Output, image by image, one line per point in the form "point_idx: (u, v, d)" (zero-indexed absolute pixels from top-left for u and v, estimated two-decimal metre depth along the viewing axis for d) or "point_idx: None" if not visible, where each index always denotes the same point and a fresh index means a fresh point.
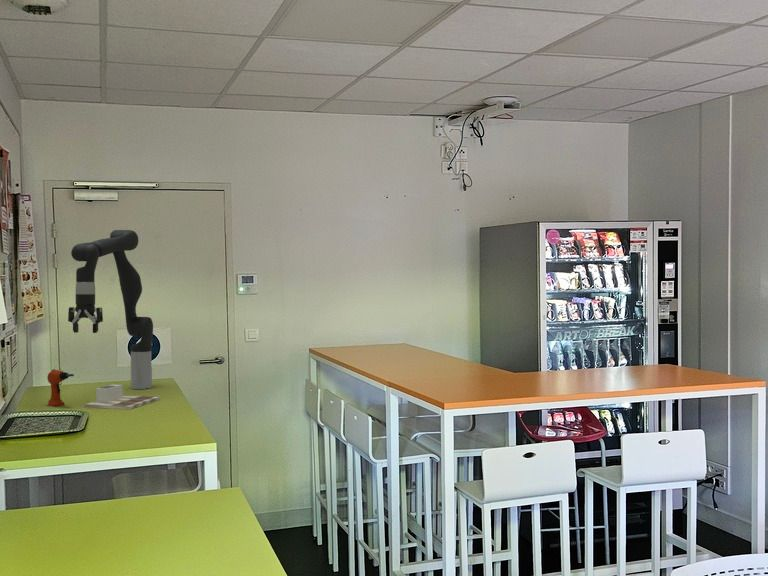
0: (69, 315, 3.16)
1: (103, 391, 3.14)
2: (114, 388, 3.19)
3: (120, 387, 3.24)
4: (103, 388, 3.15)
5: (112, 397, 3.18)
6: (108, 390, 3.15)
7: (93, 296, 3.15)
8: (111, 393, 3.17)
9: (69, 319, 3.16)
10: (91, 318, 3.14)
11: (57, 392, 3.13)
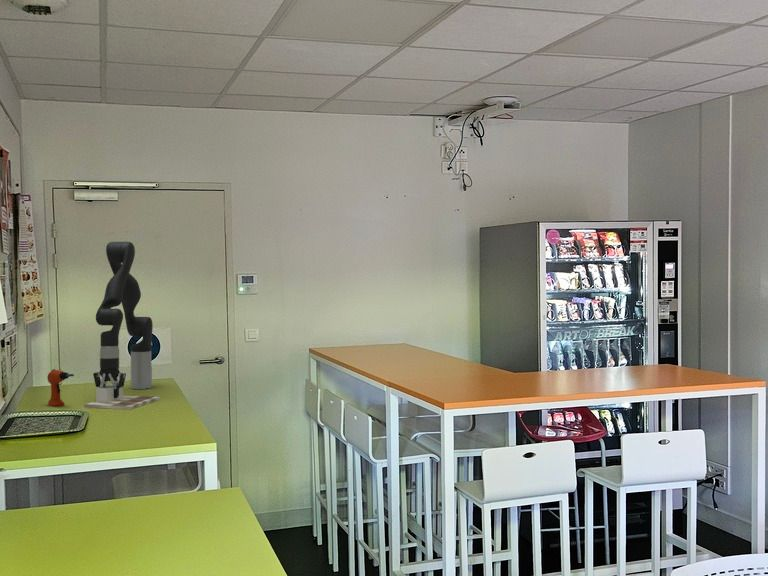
0: (95, 380, 3.20)
1: (103, 391, 3.14)
2: None
3: None
4: (103, 388, 3.15)
5: (112, 397, 3.18)
6: (108, 390, 3.15)
7: (117, 360, 3.19)
8: (111, 393, 3.17)
9: (97, 384, 3.20)
10: (113, 383, 3.18)
11: (57, 392, 3.13)
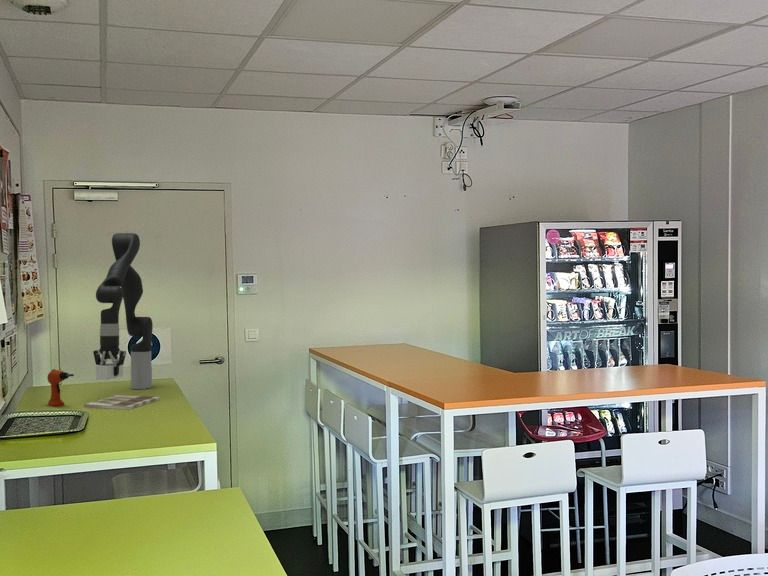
0: (95, 358, 3.20)
1: (103, 368, 3.14)
2: None
3: (120, 365, 3.23)
4: (103, 365, 3.15)
5: (112, 374, 3.18)
6: (108, 367, 3.14)
7: (117, 337, 3.19)
8: (111, 371, 3.16)
9: (97, 362, 3.20)
10: (113, 361, 3.18)
11: (57, 392, 3.13)
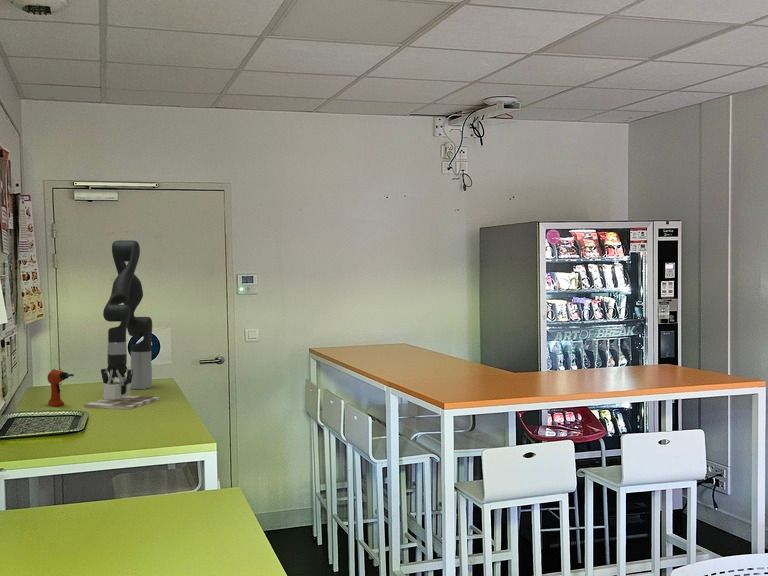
0: (103, 377, 3.19)
1: (111, 387, 3.13)
2: None
3: None
4: (110, 384, 3.14)
5: (120, 393, 3.17)
6: (116, 386, 3.14)
7: (125, 356, 3.18)
8: (118, 390, 3.16)
9: (104, 381, 3.19)
10: (121, 379, 3.17)
11: (57, 392, 3.13)
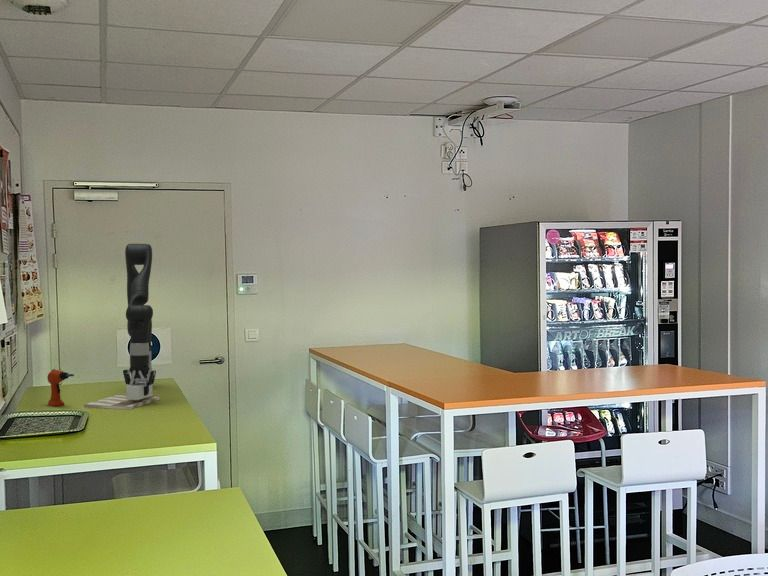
0: (125, 378, 3.17)
1: (133, 388, 3.11)
2: None
3: None
4: (133, 385, 3.13)
5: (143, 394, 3.15)
6: (138, 387, 3.12)
7: (147, 357, 3.16)
8: (141, 391, 3.14)
9: (126, 382, 3.17)
10: (143, 380, 3.15)
11: (57, 392, 3.13)
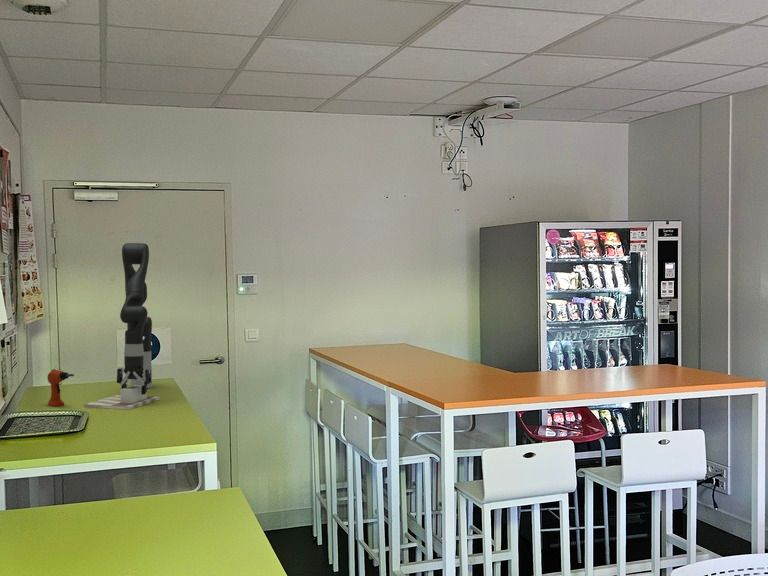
0: (118, 376, 3.18)
1: (128, 392, 3.12)
2: (138, 389, 3.17)
3: None
4: (128, 389, 3.13)
5: (137, 397, 3.16)
6: (133, 391, 3.12)
7: (142, 358, 3.17)
8: (135, 394, 3.14)
9: (118, 380, 3.18)
10: (140, 380, 3.16)
11: (57, 392, 3.13)
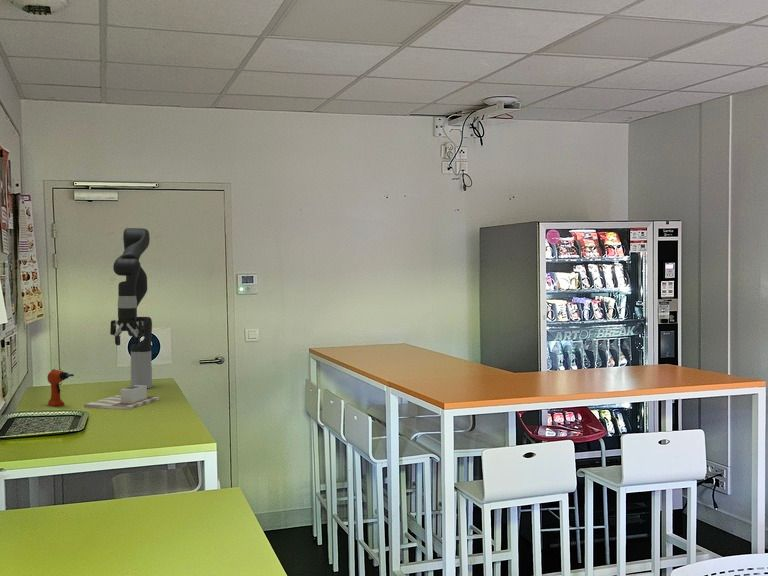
0: (111, 328, 3.22)
1: (128, 392, 3.12)
2: (138, 389, 3.17)
3: (144, 388, 3.21)
4: (128, 389, 3.13)
5: (137, 397, 3.16)
6: (133, 391, 3.12)
7: (135, 310, 3.21)
8: (135, 394, 3.14)
9: (111, 332, 3.22)
10: (133, 331, 3.20)
11: (57, 392, 3.13)
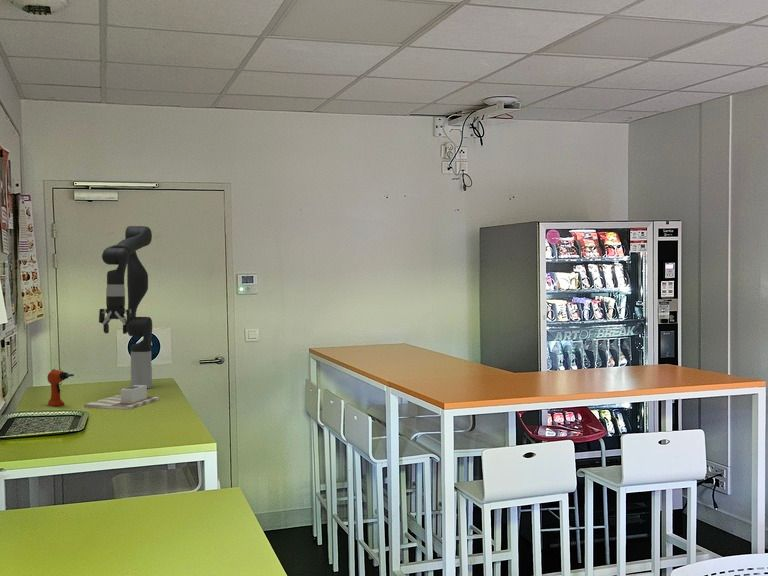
0: (100, 316, 3.28)
1: (128, 392, 3.12)
2: (138, 389, 3.17)
3: (144, 388, 3.21)
4: (128, 389, 3.13)
5: (137, 397, 3.16)
6: (133, 391, 3.12)
7: (123, 298, 3.27)
8: (135, 394, 3.14)
9: (100, 320, 3.28)
10: (121, 319, 3.26)
11: (57, 392, 3.13)
